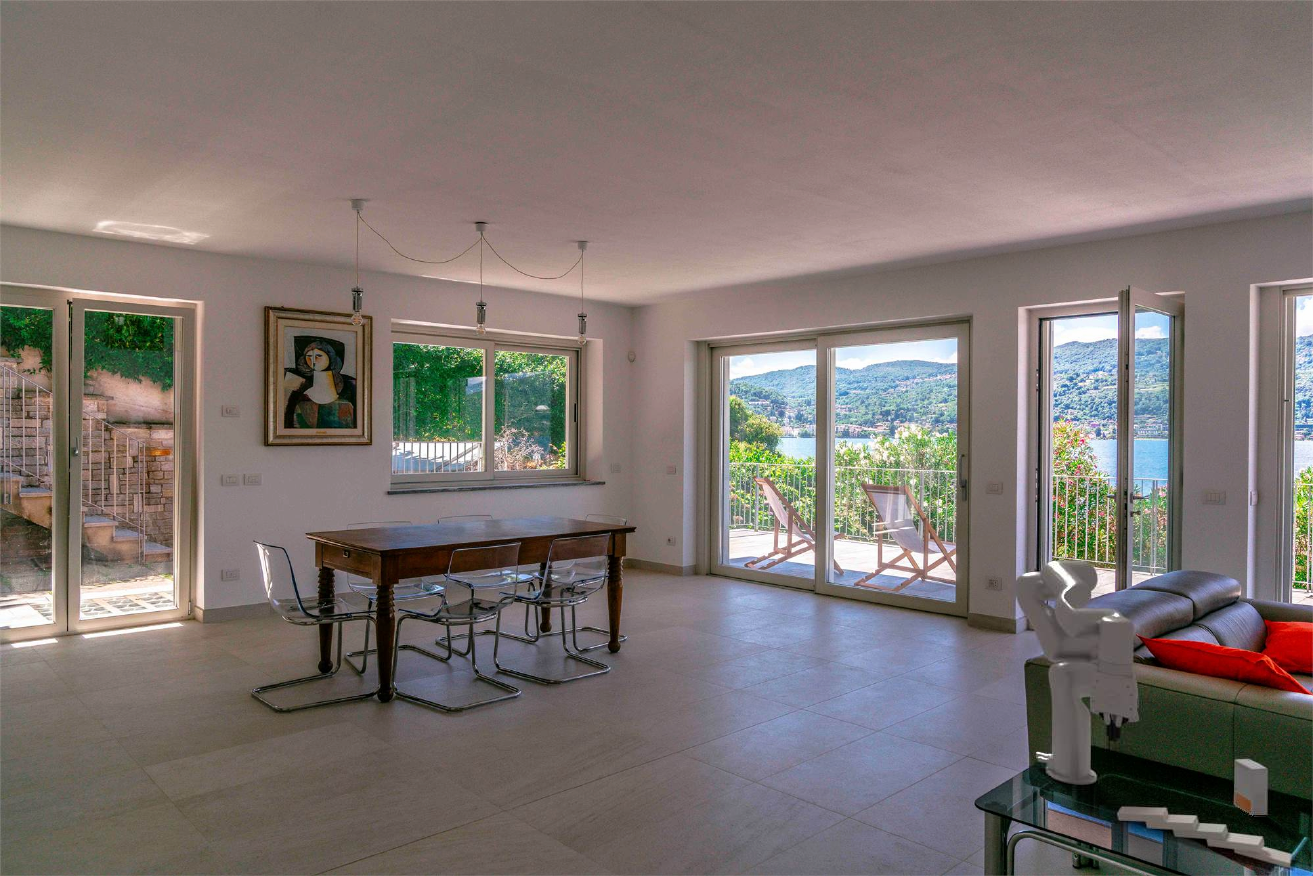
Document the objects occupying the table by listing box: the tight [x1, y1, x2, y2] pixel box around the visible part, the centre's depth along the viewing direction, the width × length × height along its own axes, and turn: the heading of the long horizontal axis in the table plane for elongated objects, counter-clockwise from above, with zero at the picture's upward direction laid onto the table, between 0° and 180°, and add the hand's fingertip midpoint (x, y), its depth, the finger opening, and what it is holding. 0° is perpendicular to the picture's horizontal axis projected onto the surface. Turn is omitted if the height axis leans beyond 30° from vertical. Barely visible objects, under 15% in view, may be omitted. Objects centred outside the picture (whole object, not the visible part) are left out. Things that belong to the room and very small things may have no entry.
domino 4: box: [1206, 832, 1265, 852], centre depth 192 cm, size 2×5×10 cm
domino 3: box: [1172, 822, 1229, 840], centre depth 197 cm, size 2×5×10 cm
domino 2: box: [1145, 814, 1200, 830], centre depth 201 cm, size 2×5×10 cm
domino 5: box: [1233, 846, 1293, 869], centre depth 189 cm, size 2×5×10 cm
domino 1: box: [1116, 806, 1169, 822], centre depth 205 cm, size 2×5×10 cm
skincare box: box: [1233, 758, 1269, 817], centre depth 211 cm, size 6×4×12 cm
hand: (1113, 739), depth 209 cm, fingers closed
